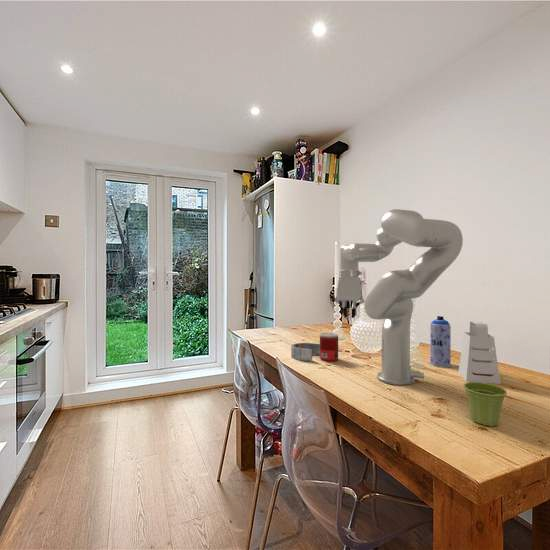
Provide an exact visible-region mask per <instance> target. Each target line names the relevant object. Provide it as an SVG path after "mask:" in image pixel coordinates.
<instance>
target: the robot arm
mask: <svg viewBox="0 0 550 550" xmlns="http://www.w3.org/2000/svg"><path fill="white" fill-rule="evenodd" d="M380 226H381V227H379V228H378V230H377V232H376V240H377V242H374V243H365V242H364V243H363V242H361V243H359V242H358V243H356V242H355V243H351V244H346V245H341V247H340V250H339V251H340V252H339V253H340V255H339V260H340V261H339V262H340V263H339V265H340V267H339V268H340V272H339V274H340V277H338V281H337V287H336V297H335V299H334V303H336V304H338V305H339V306H340V307H341V308H342V315H343V317H344V319H345V318H347V317H348V307H347V302H352V308H351V318H352V319H354V318H355V317H357V316H356V315H357V307H359V306H360V305H362V304H364V312H365V314H366V315H367V316H368V317H369V318H370V319H373V320H378V321H379V320H384V321H383V323H382V327H381V371H379V372H377V375H376V377H377V379H378V380H379V381H380V382H382V383H385V384H390V385H395V386H397V385H398V386H405V385H406V386H407V385H412V384H413V383H415V379H416V378H418V379H424V378H425V375H424V374H425V373H424V372H421V371H420V370H414V369H412V366H411V321H412V315H413V310H414V301H413V299H417V298H420V297H421V296H422V295H424V294H425V293H426V291H428V290H429V288H431V286H432V285H433V284H434V283H435V282H436V281H437V280H438V278H439V277H440V276H441V275H442V274H443V273H444V272H445V271H446V270H447V269H448V268H449V267H450V266H451V265H452V264H453V263H454V262H455V260H456V259H457V258H458V256H459V255H460V253H461V251H462V248H463V241H464V239H463V232H462V231H461V229H460V227H459V226H458V225H457V224H455V223H453V222H451V221H449V220H442V219H434V218H431V219H430V218H424V217H423V216H422V214H420V213H419V212H417V211H415V210H410V209H400V208H399V209H398V208H394V209H390V210H389V211H387V212H386V213H384V215H383V216H382V218H381V221H380ZM401 243H405V244H408V245H410V246H413V247H417V248H429V249H428V250H426V252H424V253H422V254H421V255H420V256H419V257H417V259H416V260H415V262H413V263H412V265H411V266H410V267H408V269H402V270H401V269H399V270H390V271H388V272H386V273H385V274H383V276H382V277H380V279H379V280H378V281H377V283H376V284H375V285H374V287H373V288H372V289H371V290H370V292H369V293H368V294H367V296H366V299H365V298H364V297H363V286H362V279H361V277H360V276H361V275H362V274H363V271H360V269H359V263H375V262H379V261H380V260H381V261H382V259H384V258H386V257H388V256H389V255H391V253H392V251H393V250H394V247H396V246H398V245H400V244H401Z"/></svg>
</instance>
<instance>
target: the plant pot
mask: <svg viewBox="0 0 550 550" xmlns="http://www.w3.org/2000/svg"><path fill="white" fill-rule="evenodd" d="M463 388H464V390H465V393H466V395H467V400H468V401H467V402H468V408H469V416H470V420H471V419H472V420H473V421H472V420H471V421H472V422H474V421H475V422H474V423H476V422H477V423H476V424H481V425H483V426H485V425H497V426H498V424H499V422H500V418H501V417H500V416H501V411H502V408H503V407H502V406H503V401H504V400H505V396H507V394H508V392H507V390H506V389H504V388H503V387H500V386H497V385H496V384H495V385H494V384H492V383H480V382H465V383H463Z"/></svg>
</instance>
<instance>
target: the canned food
mask: <svg viewBox="0 0 550 550" xmlns="http://www.w3.org/2000/svg"><path fill="white" fill-rule="evenodd" d="M319 344H320V355H319V359H320V360H321V361H322V362H330V363H331V362H333V363H334V362H337V361H338V360H339V334H337V333H333V332H324V333H320V334H319Z"/></svg>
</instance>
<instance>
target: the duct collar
mask: <svg viewBox="0 0 550 550" xmlns="http://www.w3.org/2000/svg"><path fill="white" fill-rule="evenodd" d="M290 347H291V352H290V353H291V354H290V355H291V358H292V359H294V360H298V361H305V362H313V356H320V343H314V342H296V343H293V344H291V346H290ZM312 354H314V355H312Z"/></svg>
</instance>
